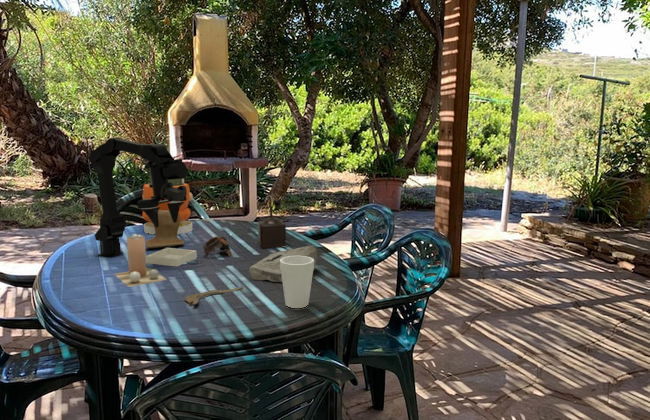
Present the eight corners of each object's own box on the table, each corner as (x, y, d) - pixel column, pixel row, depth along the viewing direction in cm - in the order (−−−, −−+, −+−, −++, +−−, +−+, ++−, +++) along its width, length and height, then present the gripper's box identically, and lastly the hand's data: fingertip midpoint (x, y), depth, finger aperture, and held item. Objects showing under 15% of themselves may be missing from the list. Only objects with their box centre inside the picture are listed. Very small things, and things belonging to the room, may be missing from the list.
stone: (299, 287, 156) (321, 269, 174) (299, 257, 154) (321, 242, 172) (246, 280, 162) (273, 263, 180) (246, 251, 160) (273, 237, 178)
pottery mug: (230, 260, 185) (218, 242, 183) (209, 269, 188) (197, 252, 185) (237, 244, 196) (226, 227, 193) (217, 253, 199) (206, 236, 196)
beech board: (113, 275, 164) (113, 273, 164) (150, 269, 171) (150, 267, 171) (128, 288, 151) (128, 286, 151) (167, 281, 159) (167, 279, 159)
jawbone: (172, 305, 141) (171, 298, 140) (223, 287, 158) (222, 280, 157) (194, 310, 136) (194, 302, 136) (245, 290, 153) (244, 283, 153)
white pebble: (126, 283, 155) (126, 272, 154) (134, 279, 158) (133, 269, 157) (136, 284, 154) (135, 273, 153) (143, 281, 157) (142, 270, 156)
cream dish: (146, 264, 177) (145, 256, 176) (167, 255, 189) (167, 247, 188) (177, 267, 173) (176, 259, 173) (196, 258, 185) (196, 250, 184)
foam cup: (280, 299, 144) (280, 255, 141) (312, 298, 145) (312, 255, 142) (280, 311, 134) (280, 265, 132) (314, 311, 135) (314, 264, 133)
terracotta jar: (125, 276, 161) (122, 235, 159) (136, 271, 166) (134, 232, 164) (139, 278, 160) (137, 237, 157) (150, 273, 165) (148, 233, 162)
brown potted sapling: (287, 247, 203) (287, 203, 200) (260, 248, 200) (260, 204, 197) (281, 238, 218) (281, 197, 215) (256, 239, 215) (255, 198, 212)
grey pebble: (147, 279, 159) (146, 270, 158) (153, 276, 161) (152, 267, 161) (155, 280, 158) (154, 271, 157) (160, 277, 161) (160, 268, 160)
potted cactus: (148, 227, 238) (144, 153, 231) (196, 226, 240) (193, 153, 234) (136, 237, 216) (132, 156, 210) (189, 236, 219) (186, 156, 213)
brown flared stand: (179, 241, 211) (178, 206, 209) (186, 247, 201) (185, 210, 198) (142, 244, 204) (140, 208, 202) (146, 251, 194) (144, 213, 191)
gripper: (159, 182, 162) (166, 229, 164) (195, 176, 179) (201, 219, 181) (133, 184, 167) (140, 230, 169) (171, 178, 183) (177, 220, 185)
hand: (166, 224), depth 176 cm, fingers open, 9 cm apart
